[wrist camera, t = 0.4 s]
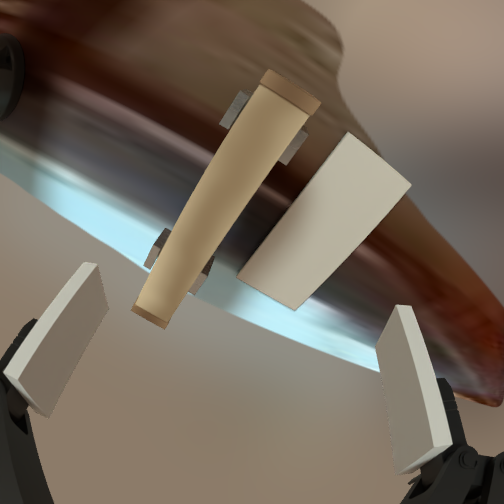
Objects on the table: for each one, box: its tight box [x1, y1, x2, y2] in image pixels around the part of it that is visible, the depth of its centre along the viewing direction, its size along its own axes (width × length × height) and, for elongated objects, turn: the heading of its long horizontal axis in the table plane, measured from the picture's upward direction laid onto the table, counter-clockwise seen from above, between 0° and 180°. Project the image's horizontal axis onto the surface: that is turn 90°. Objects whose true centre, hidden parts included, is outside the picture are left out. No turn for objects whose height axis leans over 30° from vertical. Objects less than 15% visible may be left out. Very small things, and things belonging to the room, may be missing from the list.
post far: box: [143, 228, 215, 295], centre depth 35 cm, size 6×5×11 cm
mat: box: [236, 132, 411, 310], centre depth 38 cm, size 10×24×1 cm, turn 148°
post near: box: [219, 89, 309, 165], centre depth 27 cm, size 6×5×11 cm
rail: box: [131, 69, 321, 329], centre depth 25 cm, size 4×24×6 cm, turn 148°
